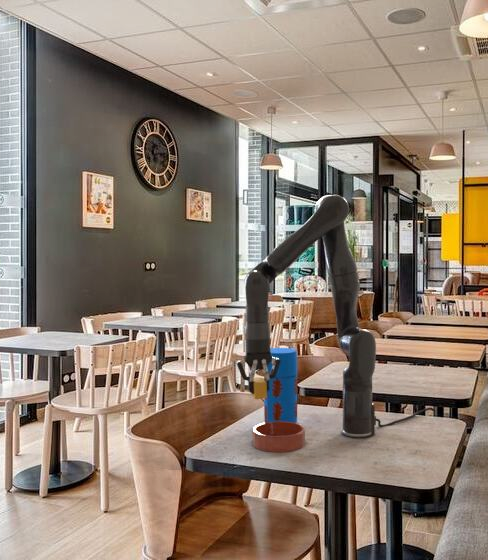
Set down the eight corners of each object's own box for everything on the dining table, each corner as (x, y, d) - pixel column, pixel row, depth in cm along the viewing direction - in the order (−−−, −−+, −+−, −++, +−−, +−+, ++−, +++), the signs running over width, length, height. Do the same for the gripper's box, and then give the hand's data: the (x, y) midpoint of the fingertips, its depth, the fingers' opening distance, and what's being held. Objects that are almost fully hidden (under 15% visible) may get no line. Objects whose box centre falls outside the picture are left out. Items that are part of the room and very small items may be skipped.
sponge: (262, 393, 186) (262, 377, 186) (266, 398, 180) (266, 381, 180) (251, 394, 185) (251, 378, 185) (255, 399, 179) (254, 382, 179)
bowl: (296, 433, 190) (296, 419, 190) (311, 449, 175) (311, 433, 175) (248, 438, 186) (248, 423, 185) (259, 454, 171) (259, 438, 171)
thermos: (293, 431, 192) (292, 353, 190) (260, 429, 194) (260, 352, 192) (300, 422, 202) (299, 348, 201) (269, 420, 204) (268, 347, 203)
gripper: (236, 339, 176) (238, 397, 177) (283, 336, 180) (284, 393, 181) (232, 336, 183) (233, 391, 184) (277, 333, 187) (278, 388, 188)
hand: (259, 392), depth 183 cm, fingers closed on sponge, 3 cm apart
